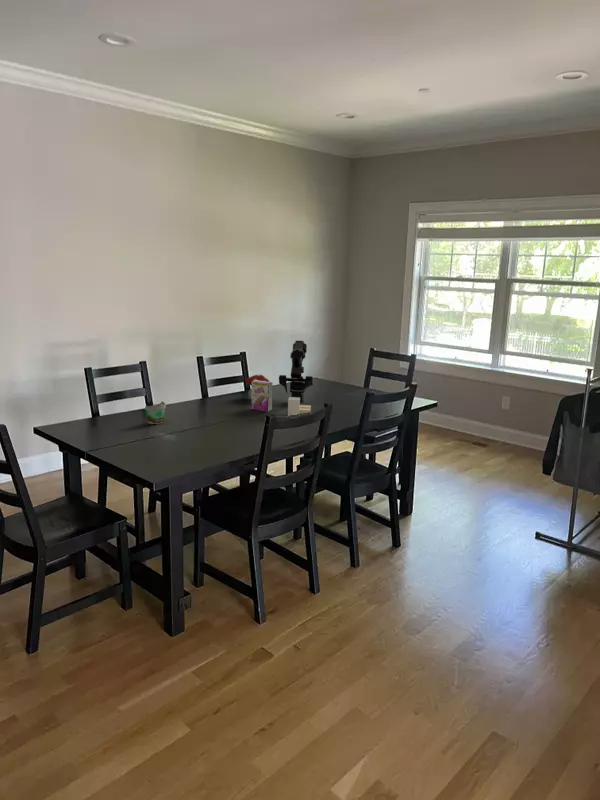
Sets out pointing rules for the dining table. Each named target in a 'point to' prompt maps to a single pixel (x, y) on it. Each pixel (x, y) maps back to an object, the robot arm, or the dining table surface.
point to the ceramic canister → (293, 406)
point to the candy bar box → (261, 395)
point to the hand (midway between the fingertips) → (294, 393)
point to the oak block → (305, 409)
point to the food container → (155, 413)
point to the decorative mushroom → (256, 377)
